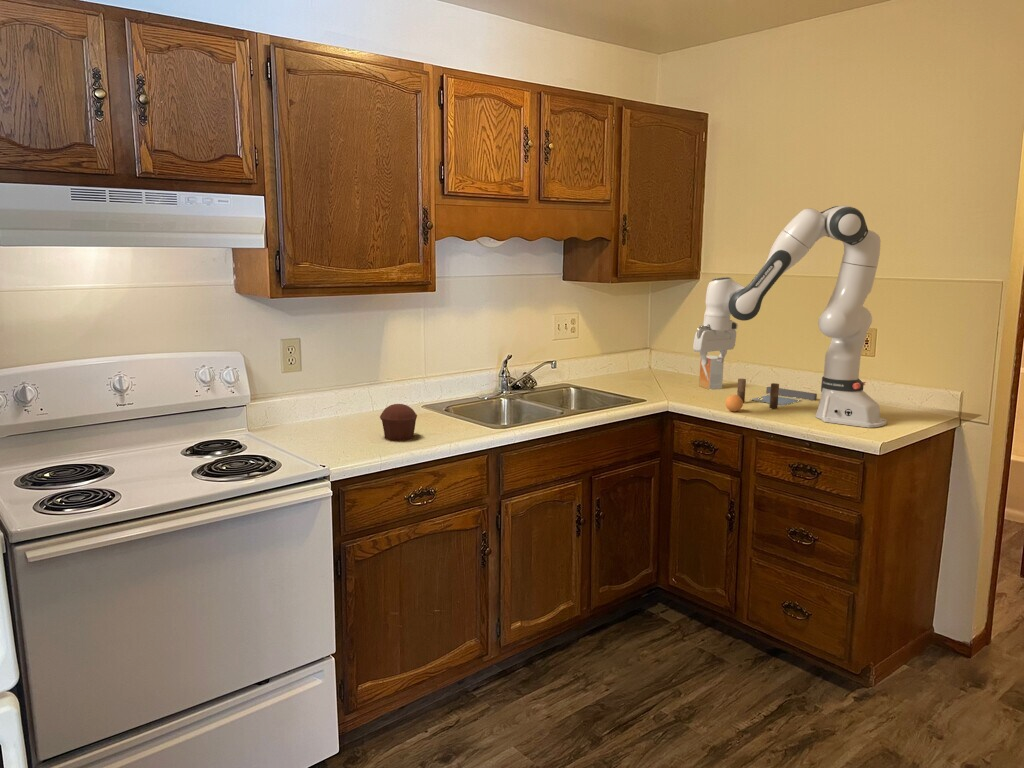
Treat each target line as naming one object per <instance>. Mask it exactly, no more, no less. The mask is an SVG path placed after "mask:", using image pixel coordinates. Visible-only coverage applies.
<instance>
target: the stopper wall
mask: <svg viewBox="0 0 1024 768" xmlns="http://www.w3.org/2000/svg"><path fill="white" fill-rule="evenodd" d="M770 392H771V386H766V391H765V393H766V394H768V393H770ZM780 395H782V396H781V397H787V396H788V397H787V398H793V397H796V398H795V399H800V398H802V399H801V400H806V399H809V400H808V401H813V400H815V401H817V398H818V393H817V392H816V393H814V392H808V391H801V390H794V389H788V388H781V387H779V394H778V396H780Z"/></svg>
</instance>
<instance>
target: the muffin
mask: <svg viewBox="0 0 1024 768" xmlns="http://www.w3.org/2000/svg"><path fill="white" fill-rule="evenodd" d="M417 418H418V415H417V412H415V410H414V409H413V408H412V407H410V406H408V405H407V404H404V403H394V404H391V405H389V406H386V407H385V408H384V410H382V413H380V415H379V419H380V420H381V422H382V430H383V435H384V439H386V440H387V441H388V440H389V441H399V442H400V441H409V440H411V439H413V438H414V437H415V436H414V435H415V428H416V421H417Z"/></svg>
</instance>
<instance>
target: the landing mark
mask: <svg viewBox="0 0 1024 768" xmlns="http://www.w3.org/2000/svg"><path fill="white" fill-rule="evenodd" d="M760 397H761V398H763V399H762V400H760V399H761V398H759V397H754V398H751V399H752V400H754V401H753V402H758V401H760V402H759V403H764V402H766V403H765V404H770V394H768V395H763V396H760ZM758 398H759V399H758ZM751 399H749V401H752V400H751ZM798 400H799V402H802V401H803V399H797V398H791V397H784V396H778V406H782V405H785V406H787V404H788V405H791V403H792V404H794V403H793V402H796V403H798V402H797V401H798Z"/></svg>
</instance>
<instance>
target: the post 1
mask: <svg viewBox="0 0 1024 768" xmlns="http://www.w3.org/2000/svg"><path fill="white" fill-rule="evenodd" d="M746 382H747V379H746V378H738V380H737V392H736V393H737V394H736V395H738V396H739V397H741V399H742V401H743V404H745V401H746V399H745V398H746Z"/></svg>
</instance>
